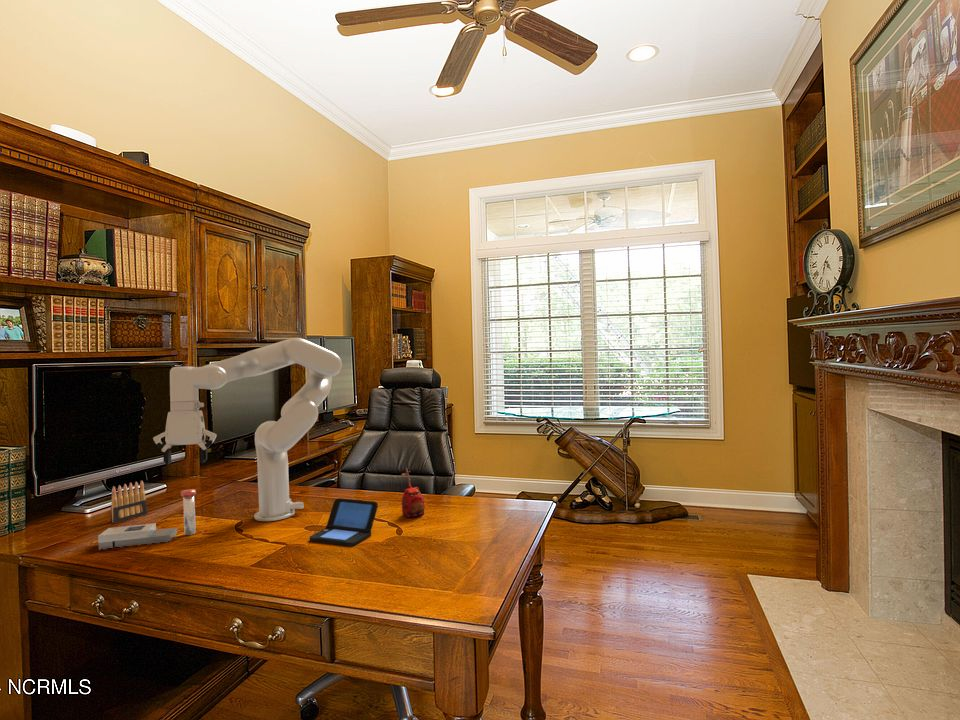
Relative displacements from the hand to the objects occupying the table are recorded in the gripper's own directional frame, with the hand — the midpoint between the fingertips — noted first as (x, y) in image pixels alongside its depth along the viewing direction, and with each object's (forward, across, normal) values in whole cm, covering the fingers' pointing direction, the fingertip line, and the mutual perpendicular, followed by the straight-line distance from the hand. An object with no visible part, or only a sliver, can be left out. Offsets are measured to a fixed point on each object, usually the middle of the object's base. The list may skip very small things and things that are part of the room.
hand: (185, 463), depth 159 cm
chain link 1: (+22, +15, +3) cm, 26 cm away
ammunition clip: (+22, +25, -24) cm, 41 cm away
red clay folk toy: (+21, -68, +3) cm, 71 cm away
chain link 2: (+22, +10, +3) cm, 24 cm away
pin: (+22, -1, 0) cm, 22 cm away
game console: (+21, -47, +17) cm, 54 cm away
